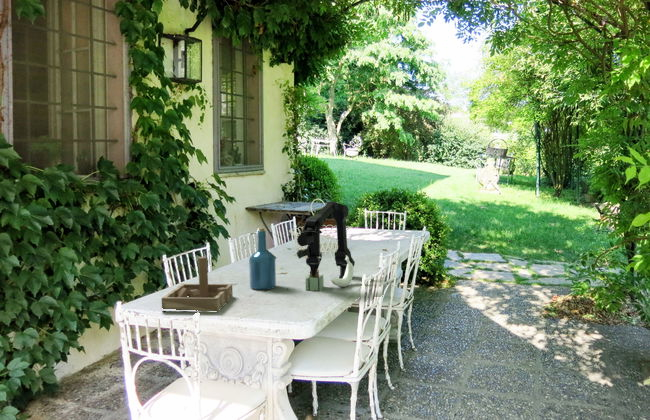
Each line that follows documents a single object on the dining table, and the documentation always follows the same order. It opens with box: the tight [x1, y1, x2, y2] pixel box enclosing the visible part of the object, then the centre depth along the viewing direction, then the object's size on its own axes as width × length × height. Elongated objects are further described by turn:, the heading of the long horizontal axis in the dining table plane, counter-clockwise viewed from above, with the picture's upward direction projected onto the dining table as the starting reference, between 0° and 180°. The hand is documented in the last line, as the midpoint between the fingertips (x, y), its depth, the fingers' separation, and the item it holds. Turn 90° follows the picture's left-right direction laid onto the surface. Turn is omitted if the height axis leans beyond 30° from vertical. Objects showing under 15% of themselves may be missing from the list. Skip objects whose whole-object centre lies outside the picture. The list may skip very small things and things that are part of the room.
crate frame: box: [161, 283, 234, 312], centre depth 258 cm, size 27×24×6 cm
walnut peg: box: [309, 269, 320, 290], centre depth 285 cm, size 4×4×9 cm
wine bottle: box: [248, 227, 277, 291], centre depth 288 cm, size 14×13×30 cm
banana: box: [330, 255, 355, 288], centre depth 288 cm, size 5×19×15 cm, turn 153°
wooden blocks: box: [176, 256, 229, 304], centre depth 257 cm, size 17×20×20 cm
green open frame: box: [305, 274, 324, 292], centre depth 285 cm, size 8×8×6 cm
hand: (314, 274), depth 284 cm, fingers open, 9 cm apart
